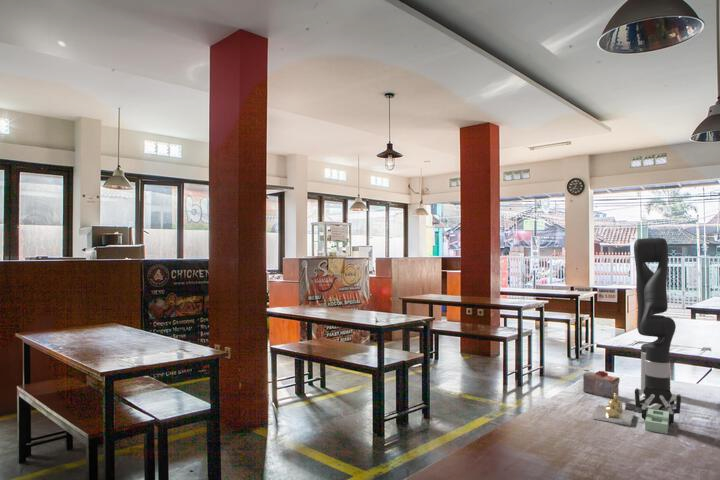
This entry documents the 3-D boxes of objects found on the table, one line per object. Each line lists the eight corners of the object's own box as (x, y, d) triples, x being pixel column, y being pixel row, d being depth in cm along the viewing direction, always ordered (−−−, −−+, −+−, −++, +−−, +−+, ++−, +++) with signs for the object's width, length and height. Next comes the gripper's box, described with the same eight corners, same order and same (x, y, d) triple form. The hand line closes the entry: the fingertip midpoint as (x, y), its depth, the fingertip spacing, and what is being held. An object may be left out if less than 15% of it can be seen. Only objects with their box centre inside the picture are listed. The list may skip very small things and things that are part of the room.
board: (648, 416, 179) (648, 408, 179) (669, 420, 176) (669, 411, 176) (645, 429, 166) (645, 420, 166) (667, 433, 162) (667, 424, 163)
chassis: (598, 409, 187) (598, 389, 187) (634, 415, 181) (634, 394, 181) (592, 418, 176) (592, 397, 176) (630, 425, 169) (630, 404, 170)
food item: (622, 396, 205) (622, 372, 205) (614, 400, 199) (614, 375, 199) (588, 389, 215) (588, 366, 215) (580, 392, 209) (580, 369, 210)
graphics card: (625, 402, 187) (650, 390, 203) (625, 411, 187) (650, 399, 203) (654, 409, 179) (677, 396, 195) (654, 418, 179) (677, 405, 195)
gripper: (682, 375, 170) (682, 423, 170) (634, 369, 178) (634, 415, 178) (682, 379, 164) (682, 429, 164) (632, 373, 172) (632, 421, 172)
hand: (657, 422), depth 171 cm, fingers open, 7 cm apart
